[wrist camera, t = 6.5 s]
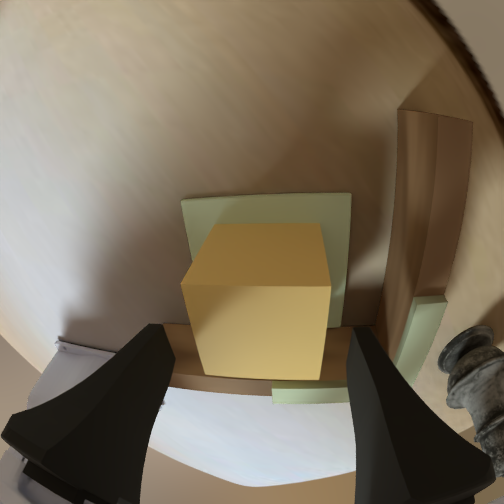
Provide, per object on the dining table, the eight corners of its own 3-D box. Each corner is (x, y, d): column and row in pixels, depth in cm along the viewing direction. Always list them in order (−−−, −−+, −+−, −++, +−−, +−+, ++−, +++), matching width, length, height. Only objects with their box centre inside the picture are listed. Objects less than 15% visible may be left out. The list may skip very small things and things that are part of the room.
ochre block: (226, 305, 17) (205, 374, 12) (214, 224, 14) (180, 284, 10) (315, 306, 16) (318, 379, 11) (319, 223, 13) (331, 286, 9)
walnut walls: (168, 338, 19) (146, 389, 15) (112, 132, 13) (53, 151, 9) (392, 340, 17) (406, 396, 13) (426, 112, 10) (480, 123, 6)
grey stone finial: (470, 314, 15) (534, 466, 5) (506, 330, 16) (561, 451, 5) (420, 369, 18) (450, 512, 8) (462, 378, 18) (494, 495, 8)
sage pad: (208, 323, 18) (207, 326, 18) (182, 199, 14) (180, 201, 14) (339, 323, 17) (340, 327, 16) (350, 192, 13) (351, 194, 13)
